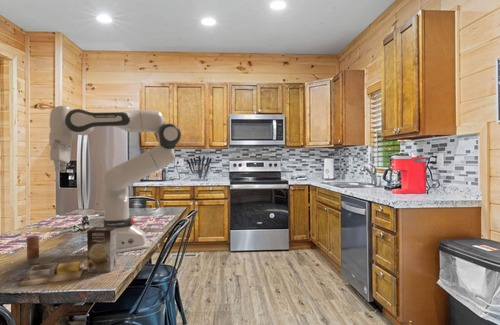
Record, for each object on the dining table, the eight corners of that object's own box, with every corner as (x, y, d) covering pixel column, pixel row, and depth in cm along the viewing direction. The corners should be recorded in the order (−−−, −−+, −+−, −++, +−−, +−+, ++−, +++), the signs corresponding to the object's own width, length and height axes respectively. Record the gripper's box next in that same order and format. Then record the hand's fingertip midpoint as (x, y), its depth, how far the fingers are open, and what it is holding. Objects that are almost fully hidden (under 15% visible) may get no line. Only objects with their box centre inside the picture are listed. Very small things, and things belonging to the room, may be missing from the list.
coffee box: (86, 272, 122) (85, 230, 121) (94, 266, 128) (93, 226, 128) (111, 271, 122) (110, 230, 122) (117, 266, 128) (116, 226, 128)
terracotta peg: (40, 265, 131) (39, 235, 131) (38, 268, 127) (37, 238, 127) (28, 266, 130) (28, 236, 129) (26, 269, 126) (25, 239, 126)
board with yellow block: (84, 266, 129) (84, 257, 129) (80, 278, 116) (79, 268, 116) (31, 272, 122) (31, 263, 122) (20, 286, 109) (20, 275, 109)
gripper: (63, 138, 137) (62, 170, 136) (73, 144, 156) (72, 172, 155) (46, 138, 135) (45, 170, 134) (58, 144, 154) (58, 173, 153)
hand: (60, 172), depth 145 cm, fingers open, 8 cm apart
